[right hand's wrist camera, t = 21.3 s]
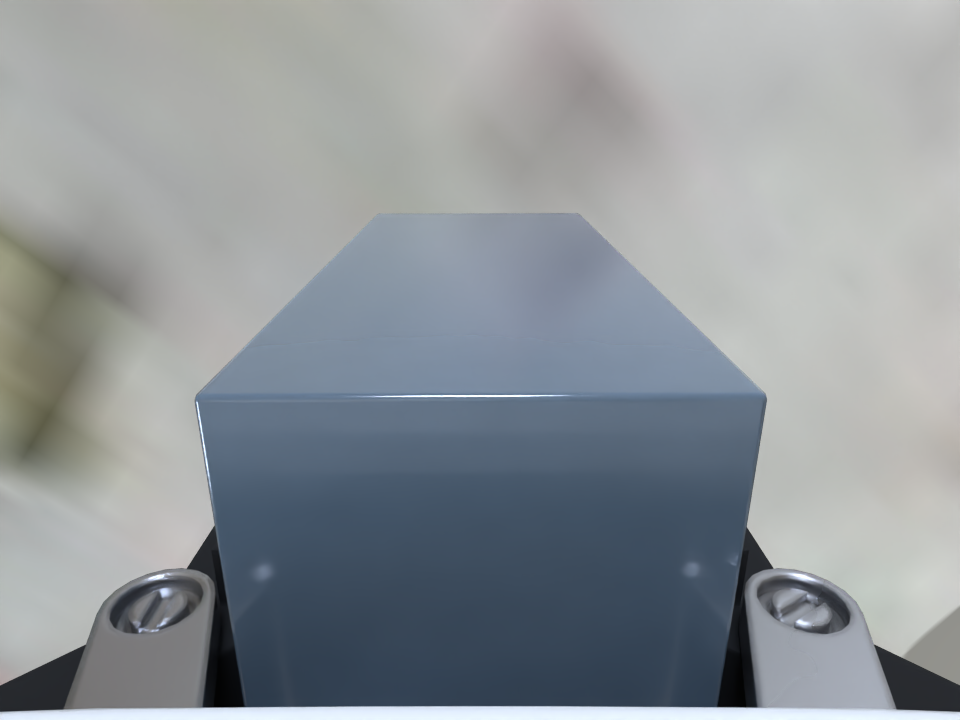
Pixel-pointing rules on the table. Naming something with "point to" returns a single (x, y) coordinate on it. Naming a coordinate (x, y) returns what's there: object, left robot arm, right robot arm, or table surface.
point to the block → (480, 477)
